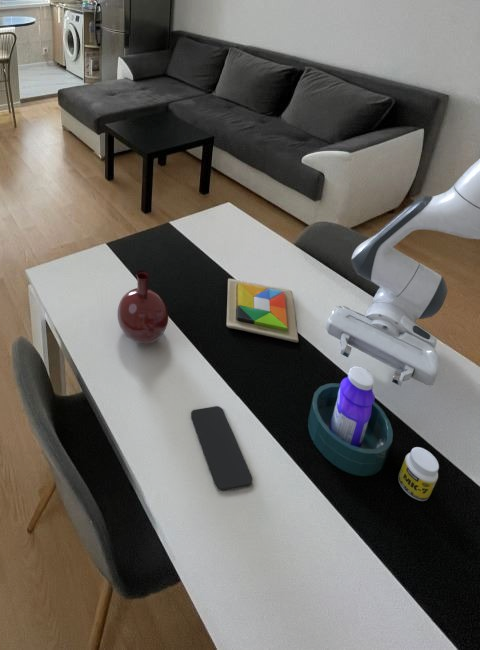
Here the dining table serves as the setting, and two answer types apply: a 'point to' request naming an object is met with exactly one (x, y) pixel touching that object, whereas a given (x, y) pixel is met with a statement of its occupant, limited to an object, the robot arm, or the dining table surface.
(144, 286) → the round-bottom flask
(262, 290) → the wooden puzzle
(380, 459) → the teal bowl
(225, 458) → the phone
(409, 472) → the supplement bottle
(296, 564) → the dining table surface
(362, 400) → the bottle
